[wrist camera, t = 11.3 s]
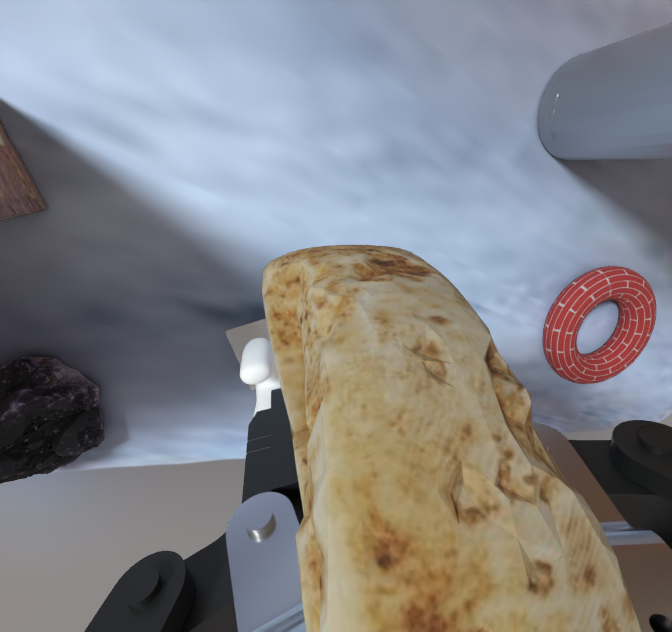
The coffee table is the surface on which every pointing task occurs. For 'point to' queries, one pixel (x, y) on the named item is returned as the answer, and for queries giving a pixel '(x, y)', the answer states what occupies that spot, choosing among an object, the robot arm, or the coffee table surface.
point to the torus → (624, 341)
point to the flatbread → (423, 461)
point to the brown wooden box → (16, 183)
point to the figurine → (255, 360)
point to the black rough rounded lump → (45, 416)
